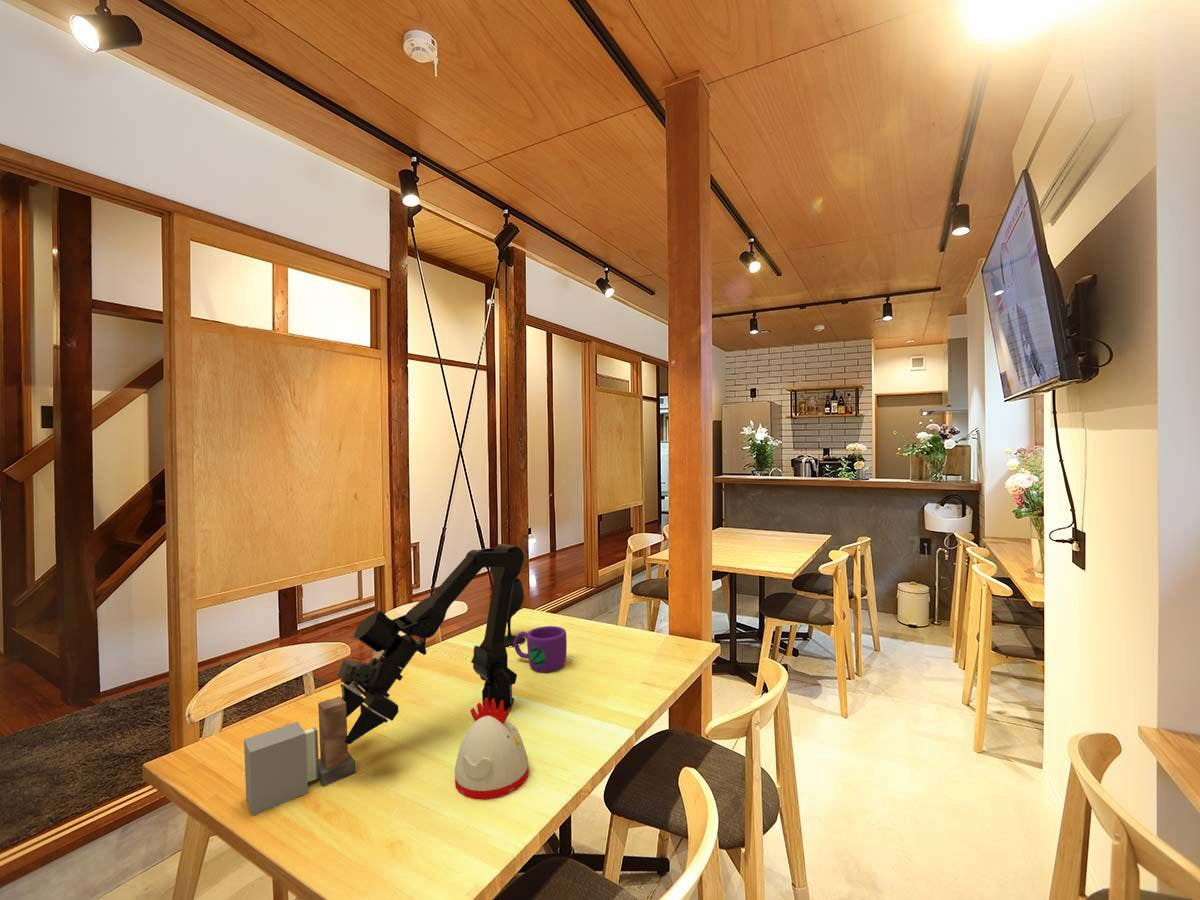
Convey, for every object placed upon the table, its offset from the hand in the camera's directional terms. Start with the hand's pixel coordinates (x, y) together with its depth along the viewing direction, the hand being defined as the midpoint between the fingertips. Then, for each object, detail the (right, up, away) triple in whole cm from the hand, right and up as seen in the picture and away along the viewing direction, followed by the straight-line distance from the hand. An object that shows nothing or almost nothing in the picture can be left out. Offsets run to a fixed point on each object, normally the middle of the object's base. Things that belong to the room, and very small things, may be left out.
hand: (339, 734), depth 106 cm
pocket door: (-6, -7, -5) cm, 10 cm away
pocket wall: (-8, -8, -7) cm, 13 cm away
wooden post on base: (-1, -7, -1) cm, 7 cm away
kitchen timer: (+31, -6, -4) cm, 32 cm away
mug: (+34, -6, +49) cm, 60 cm away
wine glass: (+22, -7, +69) cm, 73 cm away
